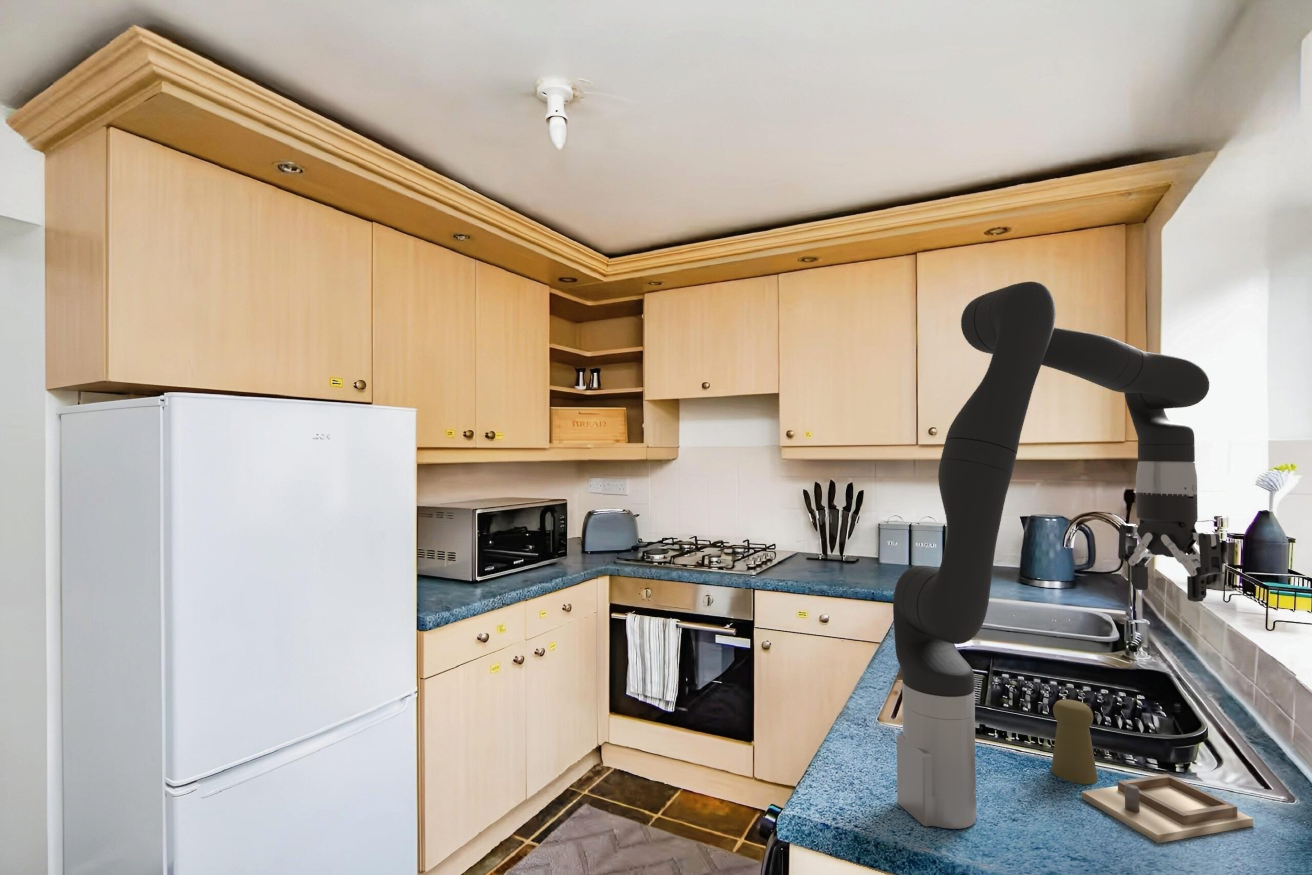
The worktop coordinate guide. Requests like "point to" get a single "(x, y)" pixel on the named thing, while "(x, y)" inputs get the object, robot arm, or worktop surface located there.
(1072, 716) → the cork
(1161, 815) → the socket plate
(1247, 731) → the worktop surface
